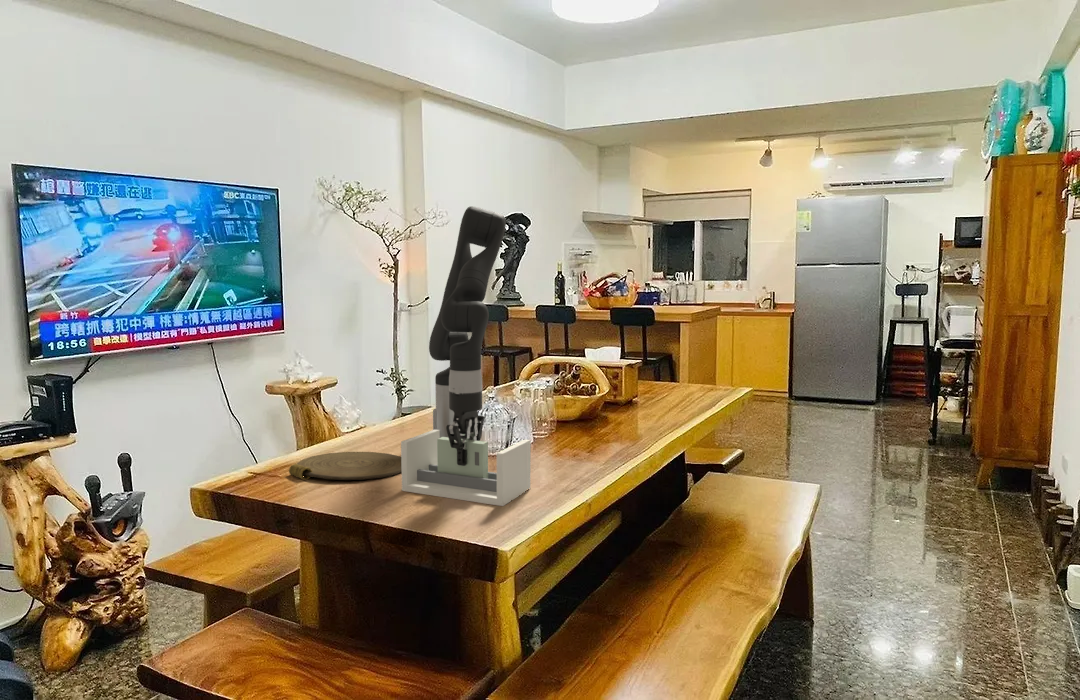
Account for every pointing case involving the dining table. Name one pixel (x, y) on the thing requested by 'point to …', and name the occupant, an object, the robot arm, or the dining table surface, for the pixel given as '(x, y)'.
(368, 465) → the decorative disc
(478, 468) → the door panel
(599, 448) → the dining table surface
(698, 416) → the dining table surface
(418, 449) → the grey u-shaped open holder
